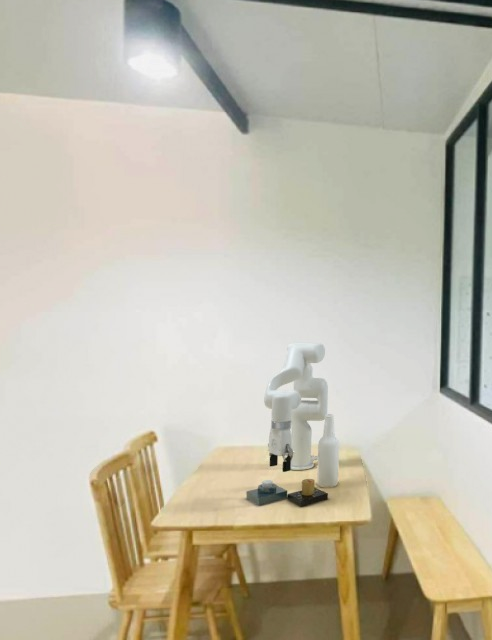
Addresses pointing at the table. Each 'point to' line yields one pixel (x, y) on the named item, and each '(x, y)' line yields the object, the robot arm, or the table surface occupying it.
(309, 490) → the dial
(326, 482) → the alcohol
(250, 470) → the table surface
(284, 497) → the push button box
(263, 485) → the light grey short cylinder
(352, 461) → the table surface
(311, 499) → the dial plate
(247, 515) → the table surface
